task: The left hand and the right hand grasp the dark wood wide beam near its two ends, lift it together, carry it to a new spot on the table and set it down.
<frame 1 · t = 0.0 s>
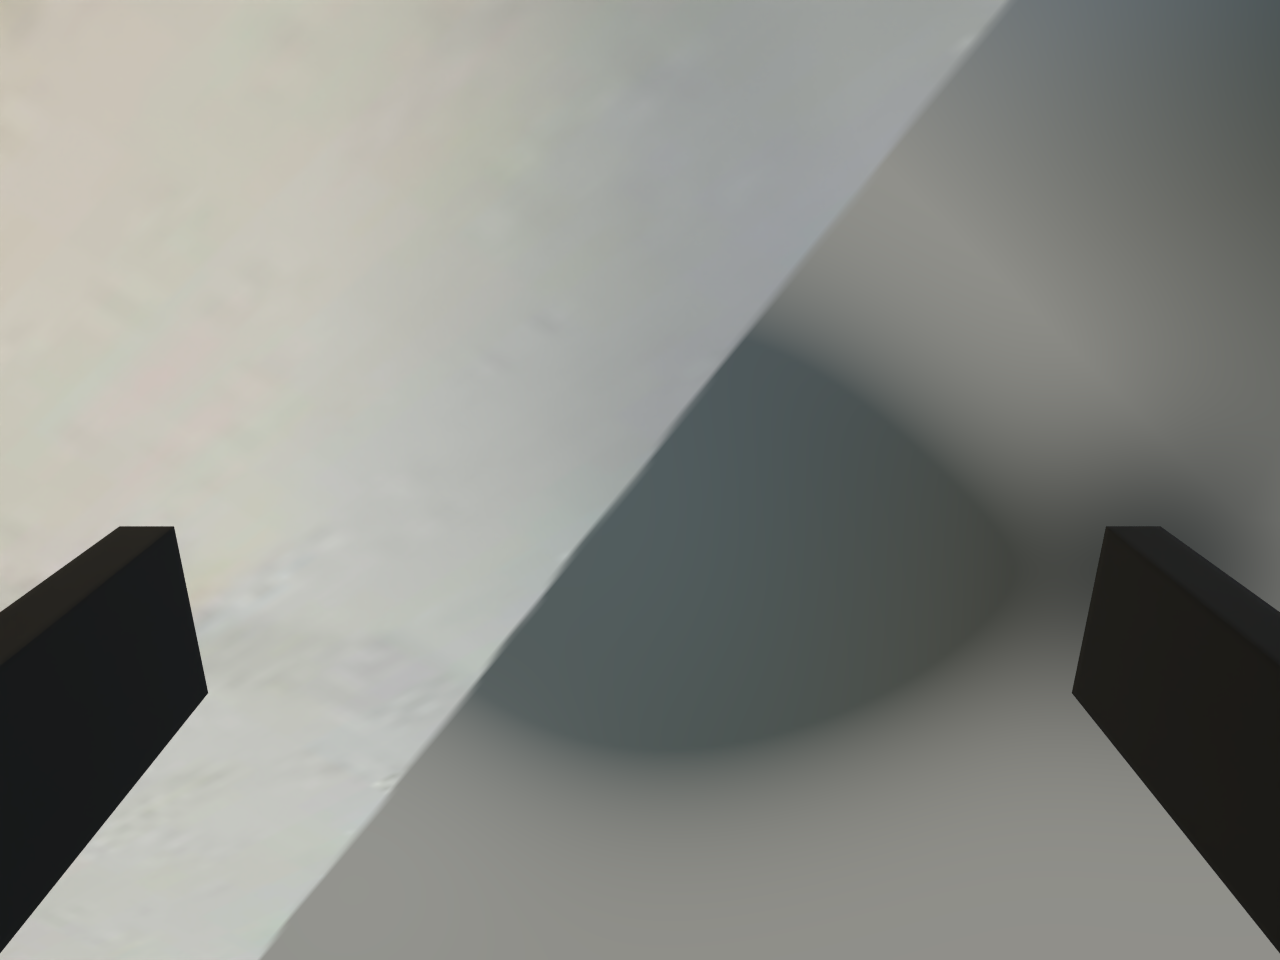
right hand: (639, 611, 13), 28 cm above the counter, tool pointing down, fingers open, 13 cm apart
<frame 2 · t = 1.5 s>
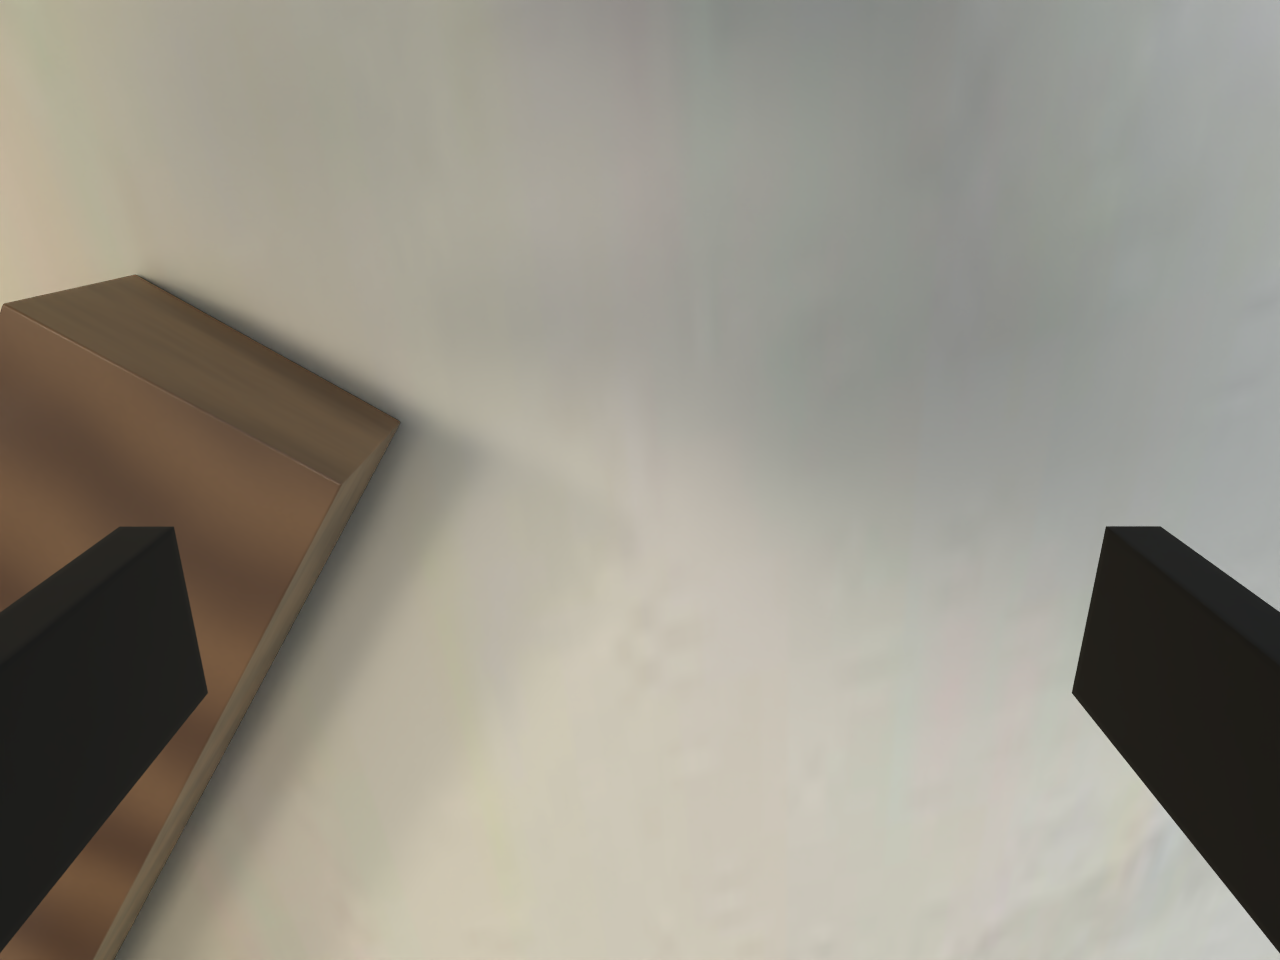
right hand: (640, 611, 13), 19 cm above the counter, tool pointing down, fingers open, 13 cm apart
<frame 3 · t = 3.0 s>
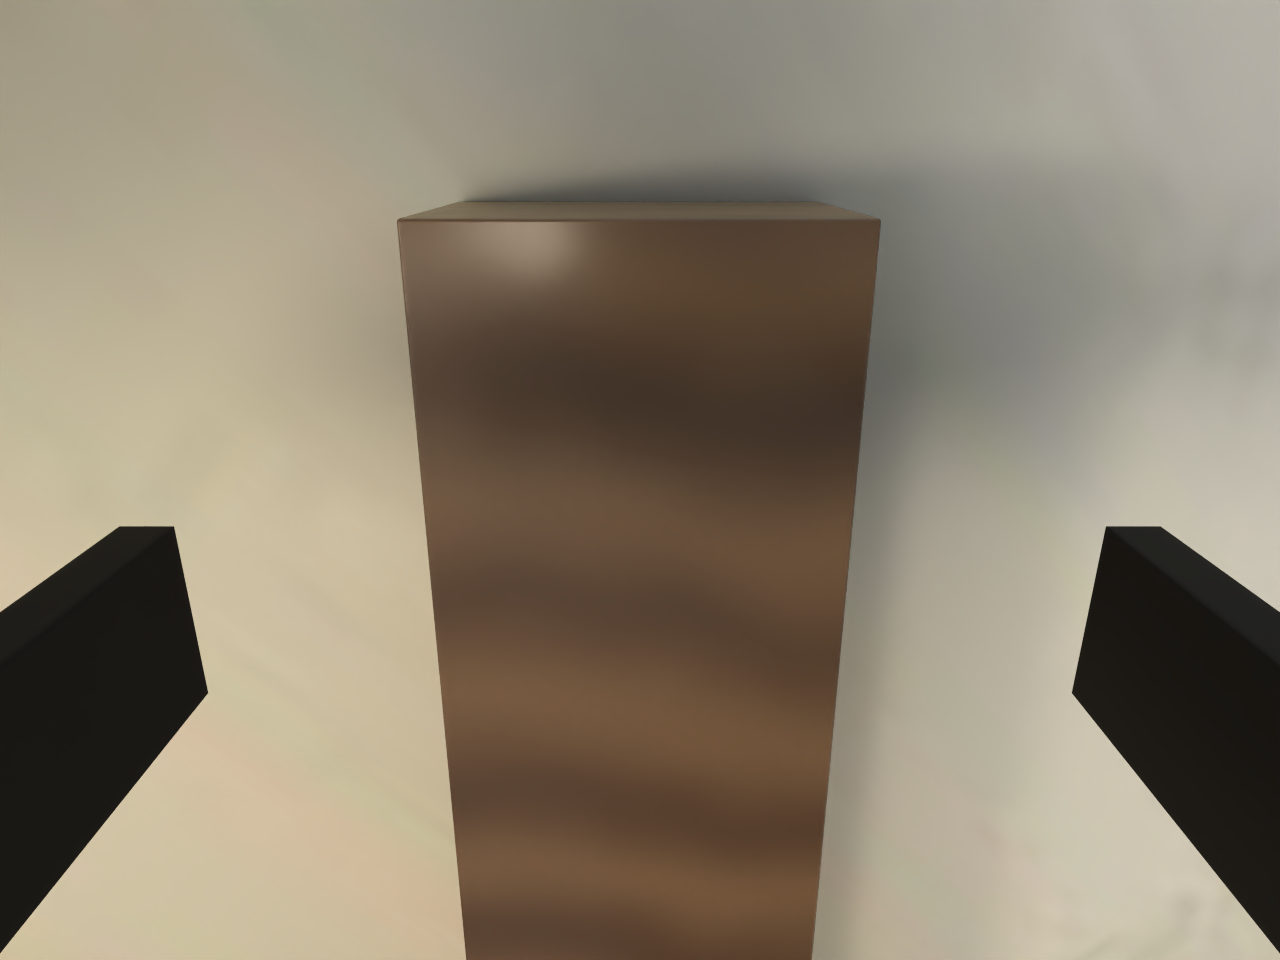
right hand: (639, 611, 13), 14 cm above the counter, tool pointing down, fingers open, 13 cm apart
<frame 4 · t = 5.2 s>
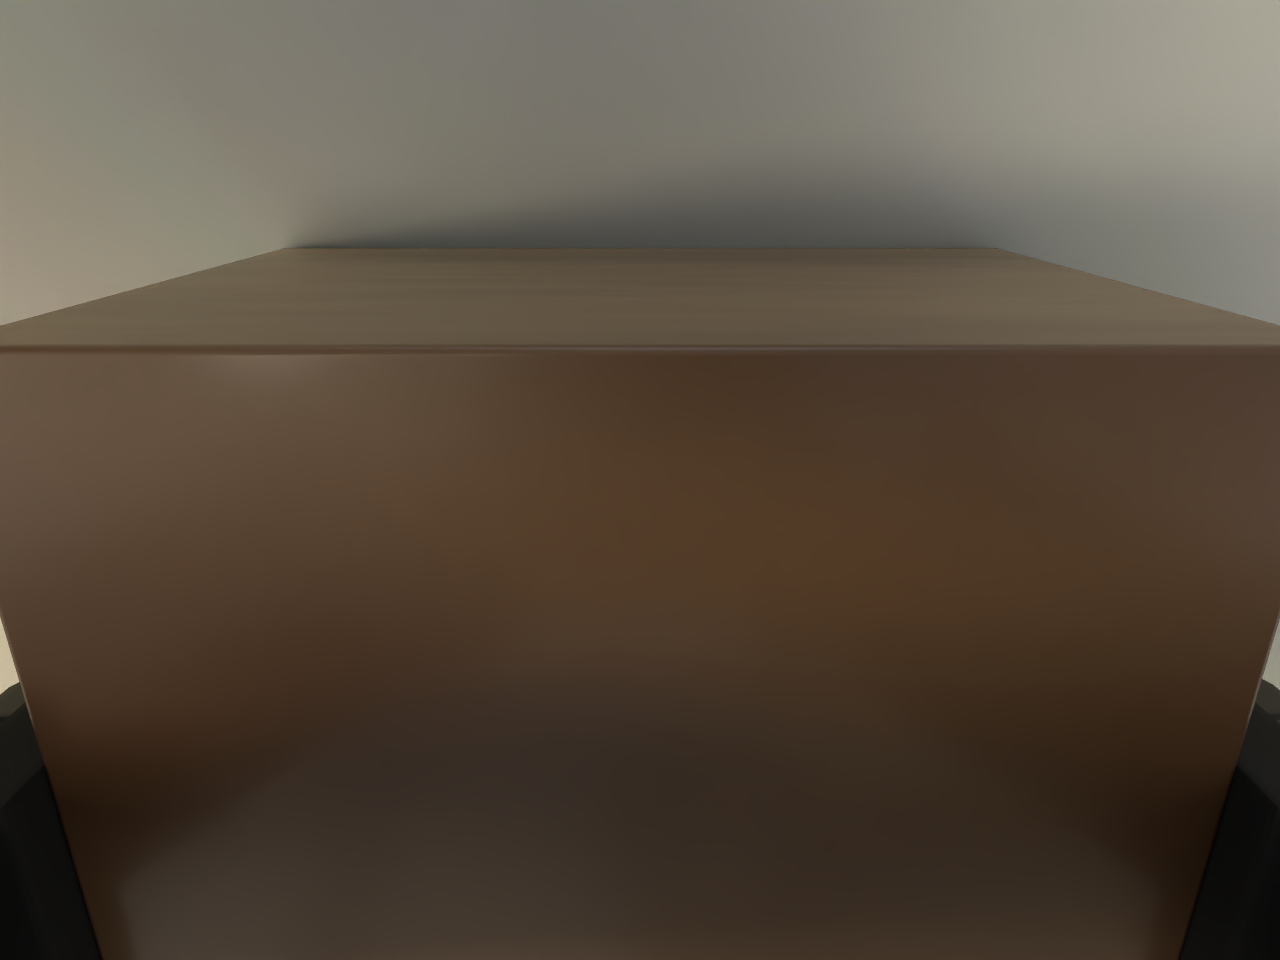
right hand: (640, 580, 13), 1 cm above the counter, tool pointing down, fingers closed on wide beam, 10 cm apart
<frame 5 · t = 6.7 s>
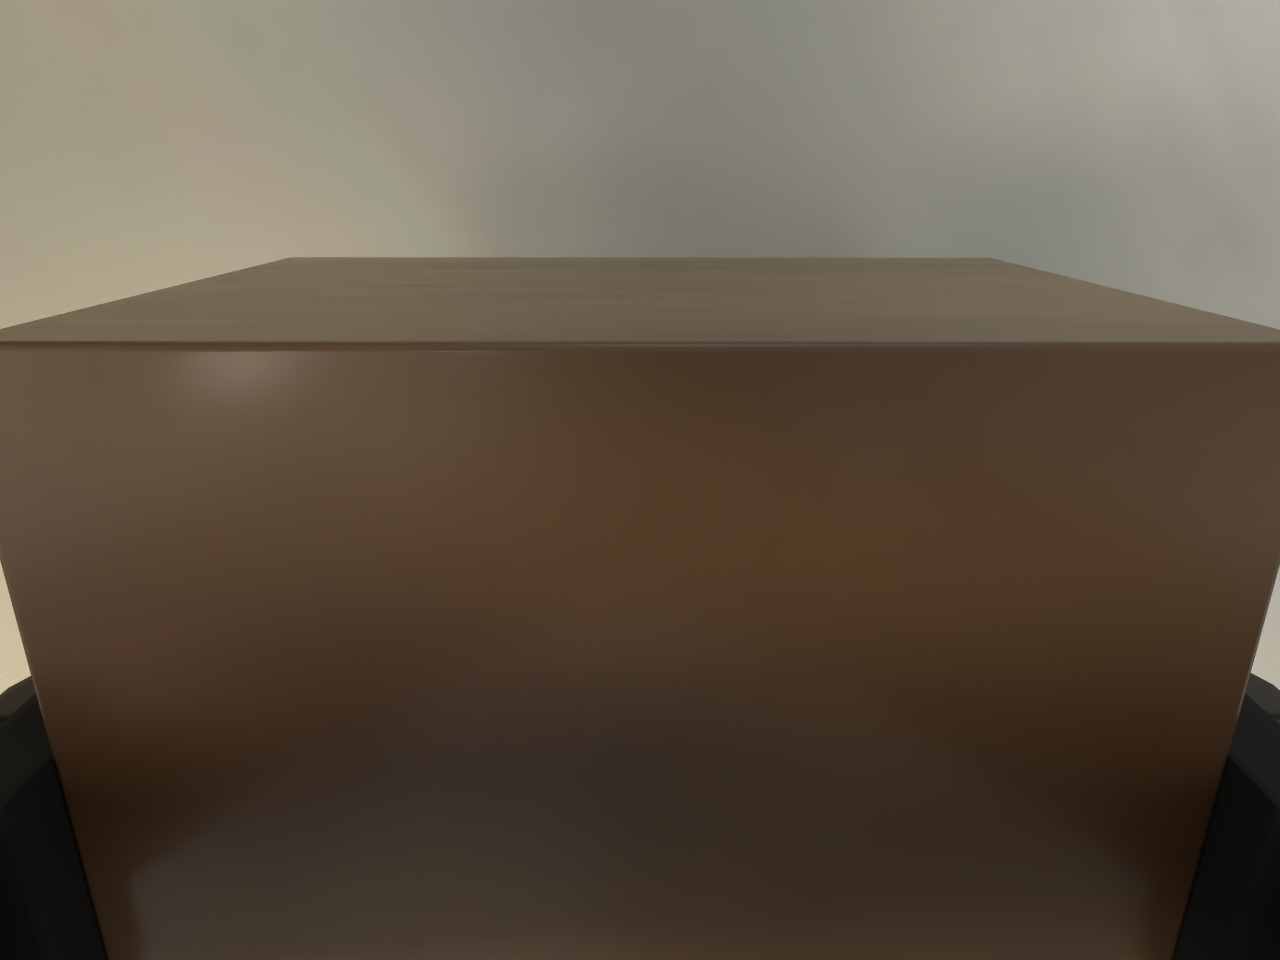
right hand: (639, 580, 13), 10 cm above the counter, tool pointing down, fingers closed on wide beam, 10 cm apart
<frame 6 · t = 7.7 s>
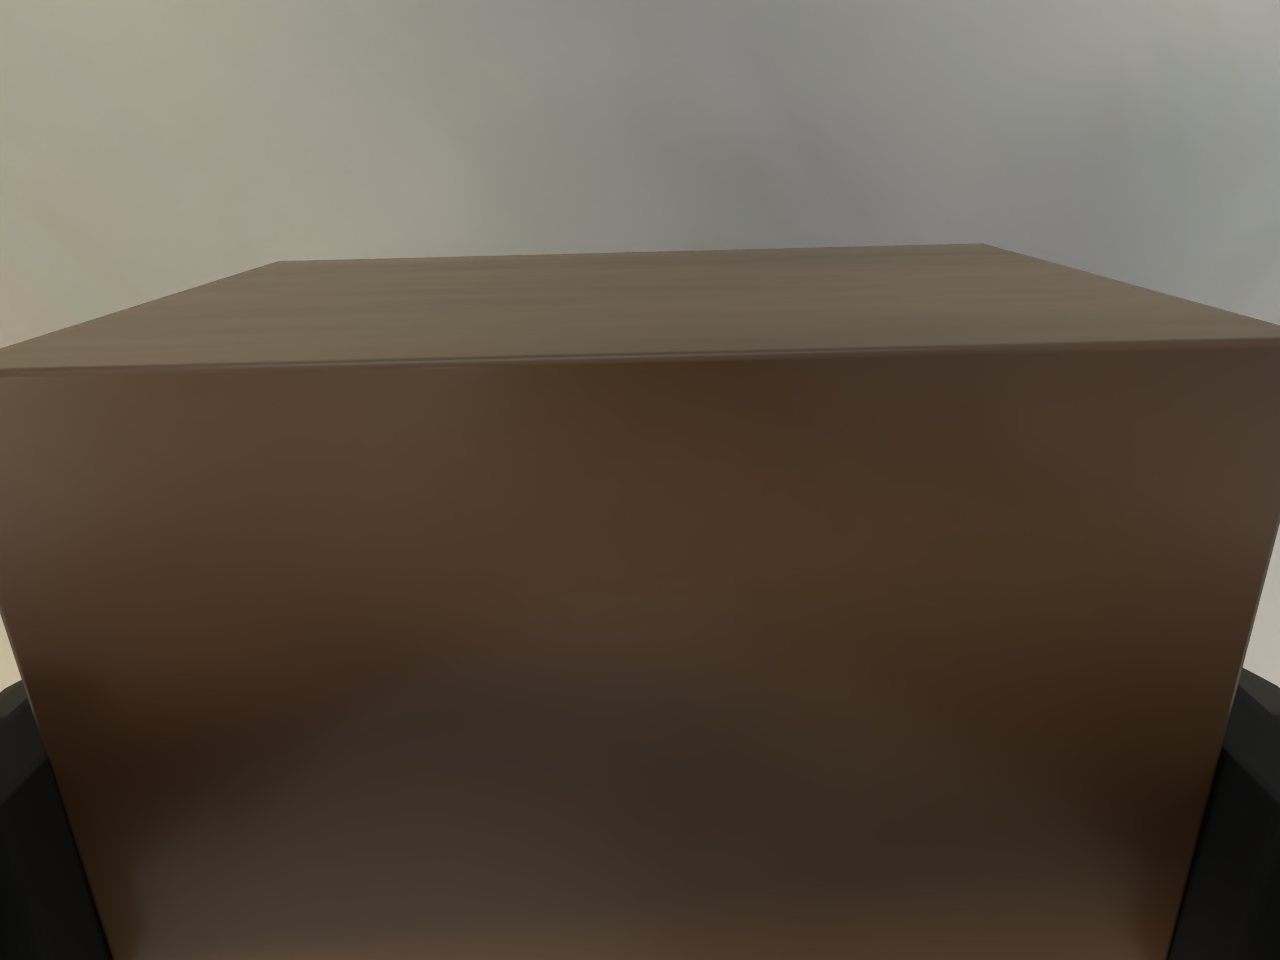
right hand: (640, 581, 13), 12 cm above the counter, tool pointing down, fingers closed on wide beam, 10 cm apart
when the left hand's fingers open (2 cm above the counter, at t = 10.2 s): wide beam drops 1 cm, on the counter.
when the right hand's fingers open (2 cm above the counter, at t = 10.2 s): wide beam drops 1 cm, on the counter.
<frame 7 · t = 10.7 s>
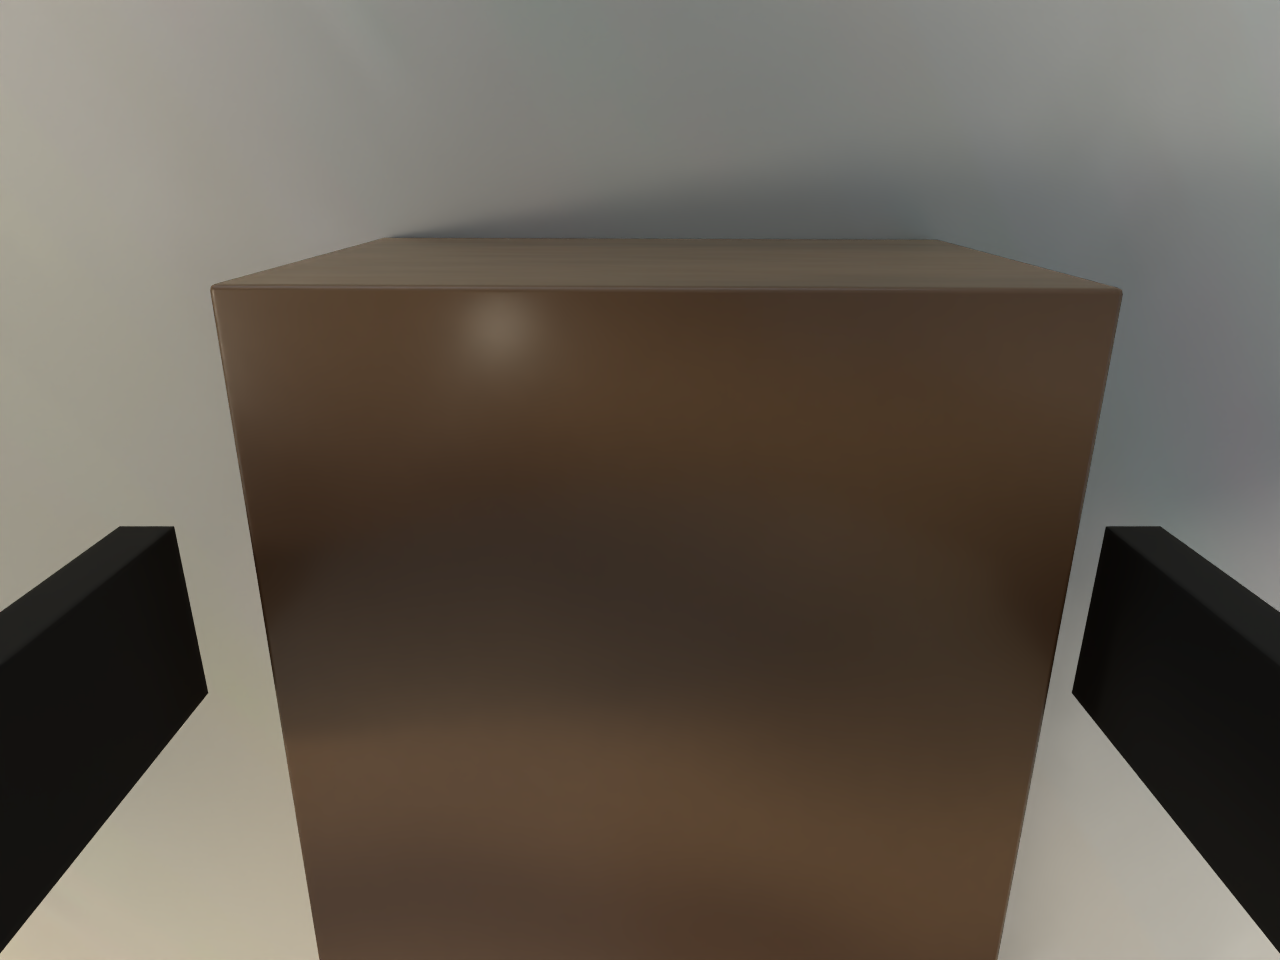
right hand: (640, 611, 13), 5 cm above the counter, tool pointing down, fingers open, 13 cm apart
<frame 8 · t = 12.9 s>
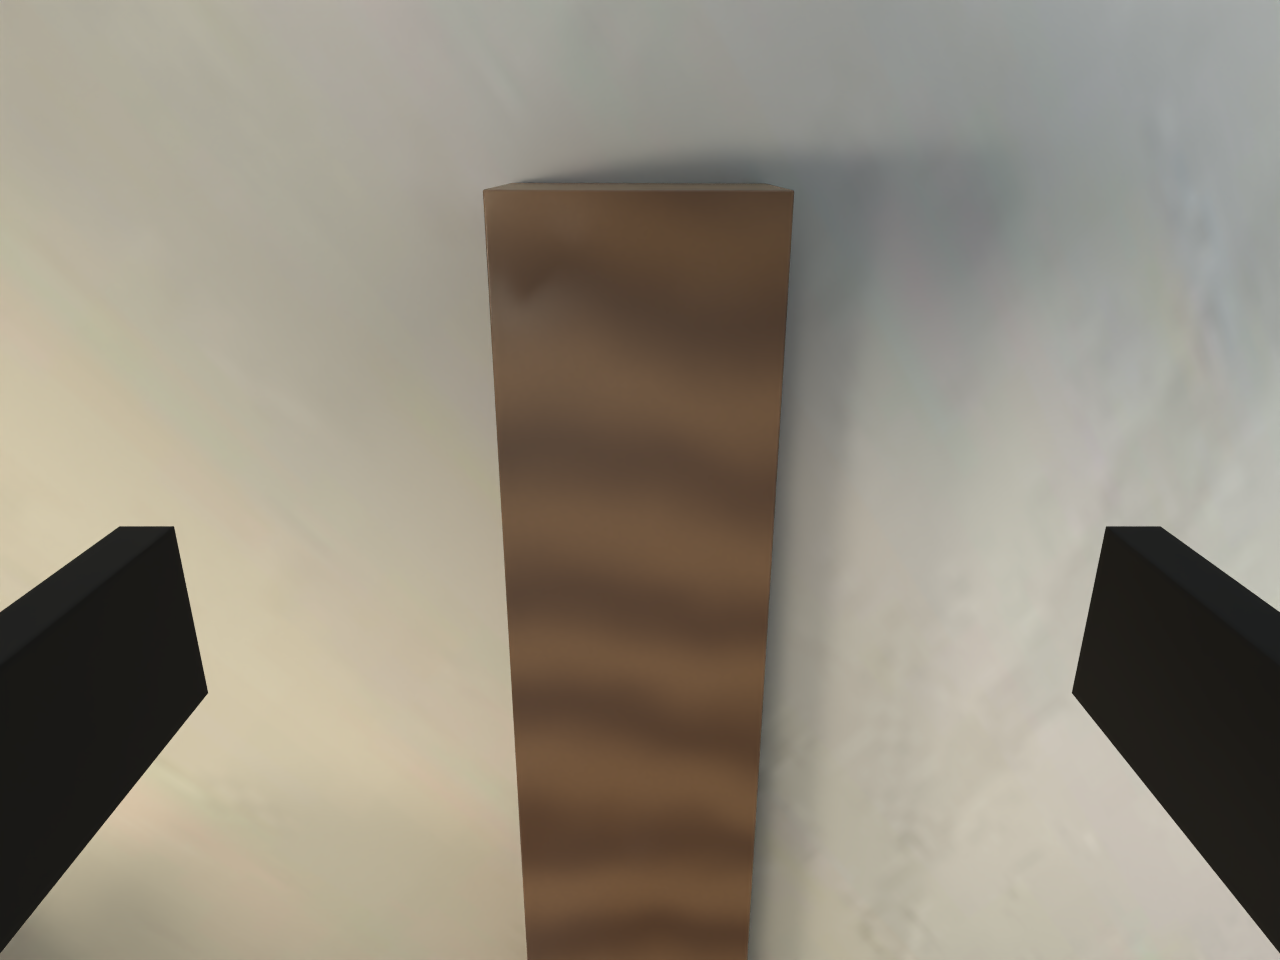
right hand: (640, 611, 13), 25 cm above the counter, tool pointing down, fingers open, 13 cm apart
wide beam: (637, 912, 47), on the counter
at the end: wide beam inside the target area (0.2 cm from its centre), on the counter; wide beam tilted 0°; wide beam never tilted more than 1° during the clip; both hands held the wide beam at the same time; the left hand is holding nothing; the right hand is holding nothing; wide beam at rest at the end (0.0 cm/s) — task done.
